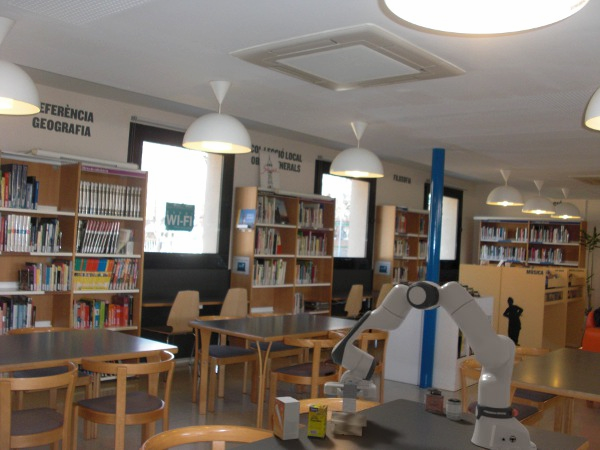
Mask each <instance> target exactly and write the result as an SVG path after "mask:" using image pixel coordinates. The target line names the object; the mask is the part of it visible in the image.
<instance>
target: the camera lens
mask: <svg viewBox="0 0 600 450" xmlns="http://www.w3.org/2000/svg"><path fill="white" fill-rule="evenodd" d="M445 408H446V409H445V414H446V419H448V420H450V421H461V419H462V411H463V402H462V400H460V399H457V398H448V399H447V400H446V407H445Z"/></svg>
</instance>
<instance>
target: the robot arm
mask: <svg viewBox="0 0 600 450" xmlns="http://www.w3.org/2000/svg"><path fill="white" fill-rule="evenodd" d="M440 307H442V309H444V310H445V312H447V314H448V315H449V317H450V318H451V319H452V320H453V322H454V323H455V325H456V326H457V327H458V329H459V330H460V332H461V333H462V335H463V336H464V337H465V339H466V341H467V343H468V345H469V347H470V349H471V351H472V352H473V355H474V359H475V361H476V363H477V364H478V365H479V366H481V372H480V377H479V379H478V386H477V387H478V388H477V390H478V391H477V401H476V404H475V405H476V406H475V425H474V430H473V434H472V438H471V439H470V441H471V443H473V444H474V445H476V446H479V447H481V448H484V449H488V450H538V448H537V444H535V443H534V442H533V441H531V437H530V436H531V435H530V432H529V429H528V428H526V426H524V425H523V424H522V423H521V422H520V421H519V420H518V418H516V417H517V416H518V415H519V411H518V410H517V409H515V408H514V407H512V406H510V399H511V397H510V396H511V382H512V376H513V370H514V365H515V357H516V353H517V351H516V350H517V347H516V343H515V342H514V340H513V339H511V337H509V336H507V335H505V334H497V332H496V331H495V329H494V327H493V325H492V323H491V321H490V320H489V316H488V315H487V313H486V312H485V311H484V310H483V308H482V307H481V306H480V304H479V303H478V302H477V300H475V298H474V297H473V296H472V295H471V293H470V292H469V291H468V290H467V289H466V288H465V287H463V286H462V285H461V284H460V283H459V282H458V281H449V282H448V281H447V282H446V283H444V284H443V285H442V284H440V283H438V282H435V281H429V280H422V281H415V282H413V283H411V285H410V286H408V285H405V284H402V283H401V284H399V283H398V284H396V285H394V286H393V287H392V288H391V290H390V291H389V292H388V293H387V295H386V296H385V297H384V299H383V300H382V302H381V303H380V305H379V306H378V307H377V308H376V309H374V310H368V311H366V312H365V313H364V314H363V315H362V316H361V317H360V318H359V319H358V320H357V322H356V323H355V324H354V325H353V326H352V327H351V328H350V330H349V331H348V332H347V333H346V335H344V336H343V338H342V339H341V340H340V341H338V342H337V343H336V344H335V346H334V347H332V348H333V349H332V351H331V354H330V355H331V358H332V360H333V363H334V364H337V365H338V366H341V367H342V368H344V369H346V371H344V372H343V373H342V375H341V377H340V380H339V381H326V382H325V383H324V384H323V394H325V395H329V396H330V395H332V396H339V397H343V387H344V381H346V382H357V397H356V399H358V398H368V399H370V398H371V399H377V395H378V393H377V392H378V388H377V386H376V384H375V383H374V380H371V378H372V377H373V375H374V373H375V370H376V366H377V362H376V358H375V357H374V356H373V355H371V354H369V353H368V352H367V351H364V350H362V349H360V348H359V347H357V346H356V345H354V344H353V343H354V342H355V340H357V338H358V337H359V336H360V335H361V334H362V332H364V331H365V330H369V329H372V330H379V331H385V332H389V331H395V330H397V329H398V328H399V329H400V327H401V326H402V324H403V323H404V322H405V320H406V318H407V316H408V314H409V313H410V311H411V310H412V309H413V308H414V309H416V310H426V311H429V310H434V309H438V308H440Z"/></svg>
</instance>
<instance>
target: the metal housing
mask: <svg viewBox="0 0 600 450" xmlns="http://www.w3.org/2000/svg"><path fill="white" fill-rule="evenodd" d="M356 397H357V382H346V381H344V387H343V396H342V406H341V412H344V413H357V411H356V410H357V398H356Z"/></svg>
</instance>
